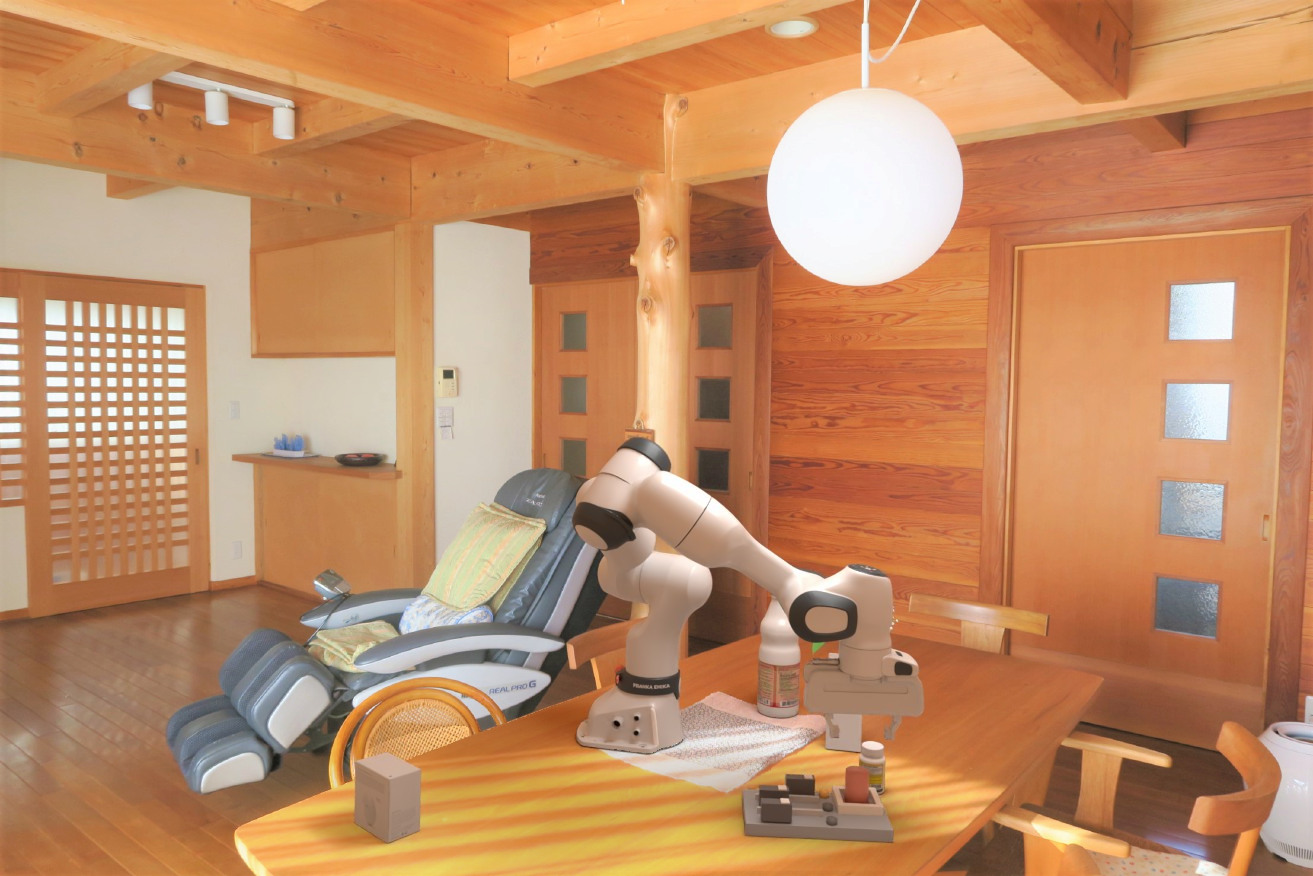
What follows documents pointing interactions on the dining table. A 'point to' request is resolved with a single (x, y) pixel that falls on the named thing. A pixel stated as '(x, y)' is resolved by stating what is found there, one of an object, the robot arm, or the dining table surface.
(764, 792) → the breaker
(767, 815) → the block
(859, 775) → the cap
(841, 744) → the milk carton
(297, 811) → the dining table surface
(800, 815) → the panel
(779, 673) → the fruit juice
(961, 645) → the dining table surface
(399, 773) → the skincare box
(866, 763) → the supplement bottle
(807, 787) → the block
